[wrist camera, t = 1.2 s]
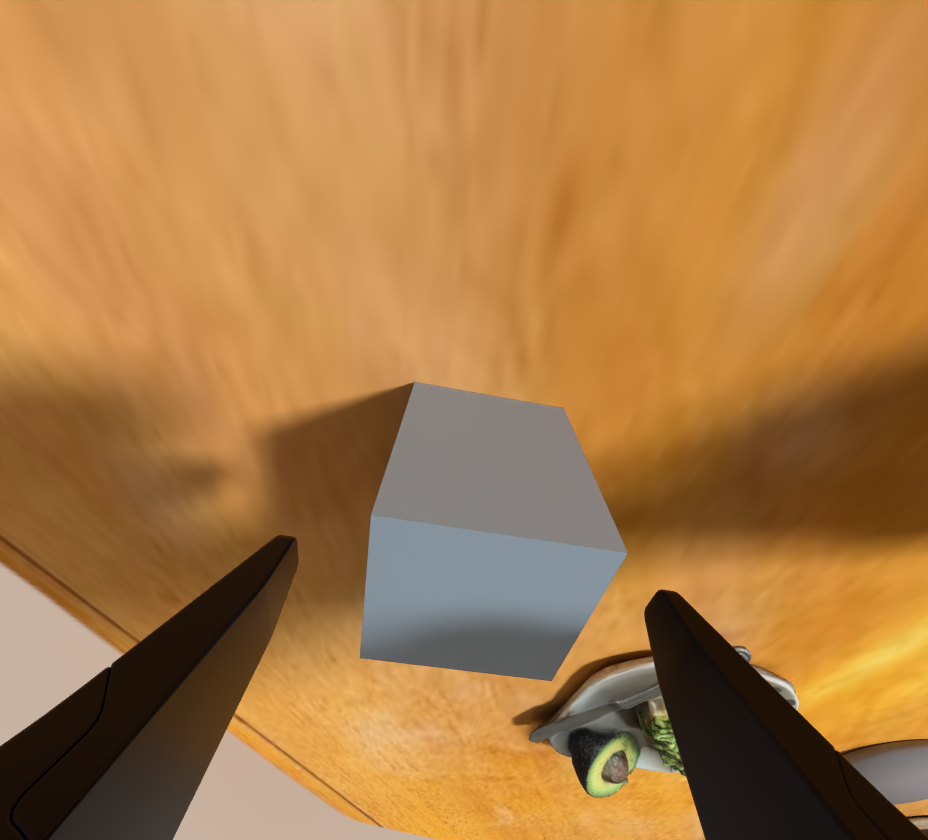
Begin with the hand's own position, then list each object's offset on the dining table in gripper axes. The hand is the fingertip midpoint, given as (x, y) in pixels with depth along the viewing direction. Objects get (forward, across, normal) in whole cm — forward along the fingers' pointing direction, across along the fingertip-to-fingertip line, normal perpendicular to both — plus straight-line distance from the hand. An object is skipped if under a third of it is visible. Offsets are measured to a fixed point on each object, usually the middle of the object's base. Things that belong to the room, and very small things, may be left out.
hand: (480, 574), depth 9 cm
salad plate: (+6, -14, +15) cm, 22 cm away
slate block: (+5, 0, 0) cm, 5 cm away
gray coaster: (+5, -34, +21) cm, 40 cm away
